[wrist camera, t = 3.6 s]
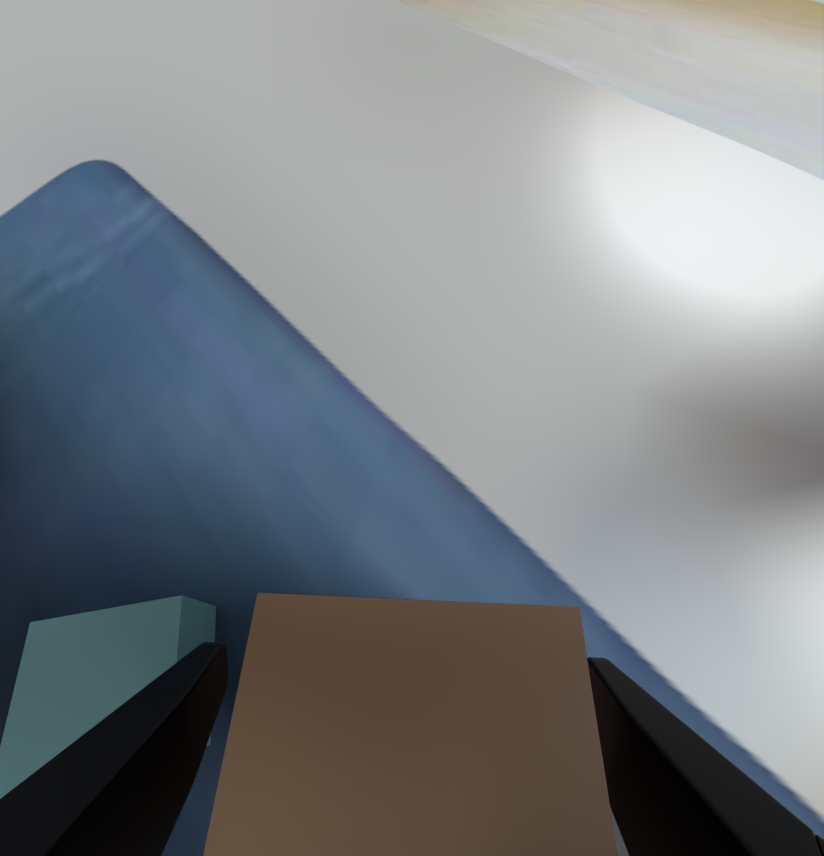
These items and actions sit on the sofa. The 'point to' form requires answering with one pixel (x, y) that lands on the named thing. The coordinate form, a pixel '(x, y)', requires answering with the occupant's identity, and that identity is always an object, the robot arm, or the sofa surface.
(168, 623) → the teal block
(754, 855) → the robot arm
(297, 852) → the walnut block
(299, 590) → the sofa surface
